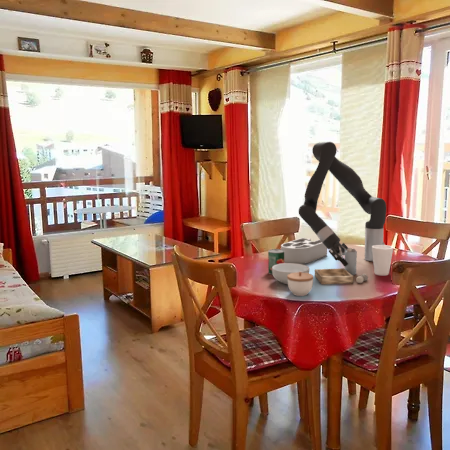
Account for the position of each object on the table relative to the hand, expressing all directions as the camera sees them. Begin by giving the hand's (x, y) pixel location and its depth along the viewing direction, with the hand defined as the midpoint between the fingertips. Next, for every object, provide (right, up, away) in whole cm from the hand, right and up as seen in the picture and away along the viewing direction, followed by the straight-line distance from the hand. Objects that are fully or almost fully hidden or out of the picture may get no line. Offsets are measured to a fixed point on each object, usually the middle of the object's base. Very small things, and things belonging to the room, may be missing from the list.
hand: (350, 263), depth 223 cm
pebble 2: (+4, -7, -10) cm, 13 cm away
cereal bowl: (-30, -8, -9) cm, 32 cm away
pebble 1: (+1, -8, -13) cm, 15 cm away
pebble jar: (0, -5, +2) cm, 5 cm away
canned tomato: (-34, -5, +7) cm, 35 cm away
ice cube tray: (-17, -1, +36) cm, 40 cm away
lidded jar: (-28, -11, -26) cm, 40 cm away
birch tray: (-10, -7, -7) cm, 14 cm away
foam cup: (+15, -5, +1) cm, 16 cm away
